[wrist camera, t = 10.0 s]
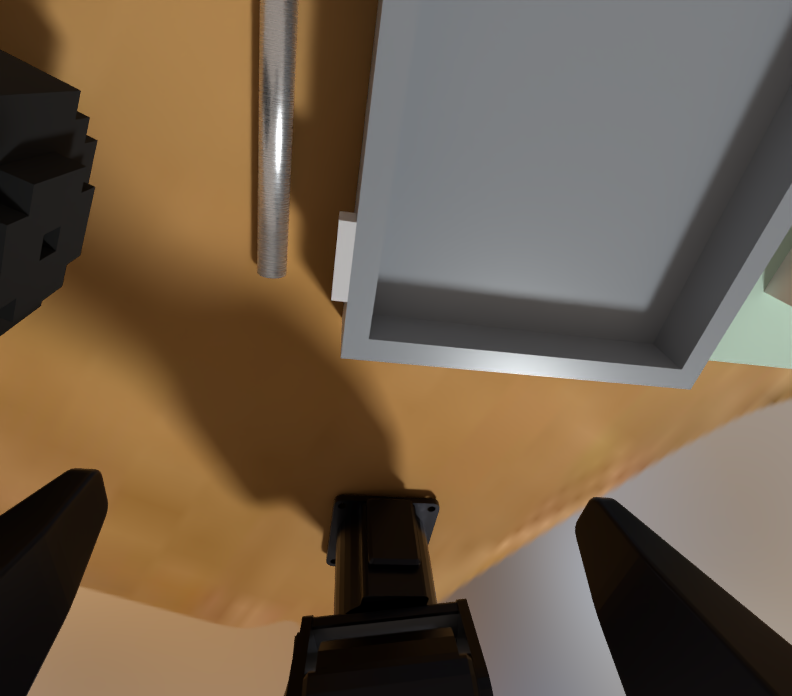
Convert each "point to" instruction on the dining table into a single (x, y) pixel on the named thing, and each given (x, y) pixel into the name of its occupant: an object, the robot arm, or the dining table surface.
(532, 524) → the dining table surface
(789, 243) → the pad
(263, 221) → the stay rod
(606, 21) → the grey flat square tray
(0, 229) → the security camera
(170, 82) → the dining table surface
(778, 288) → the block
